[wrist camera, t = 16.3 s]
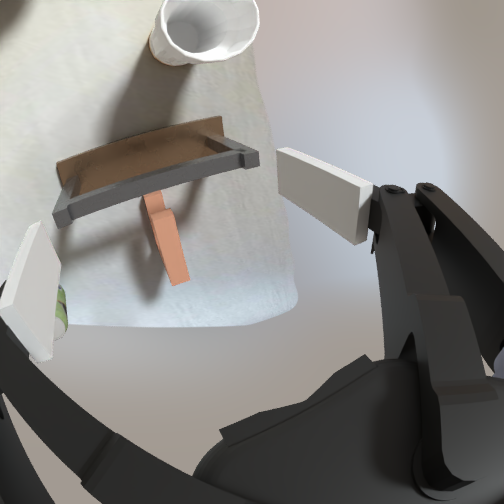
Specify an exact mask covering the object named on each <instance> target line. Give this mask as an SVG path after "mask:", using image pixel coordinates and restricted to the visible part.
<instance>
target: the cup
mask: <svg viewBox="0 0 504 504" xmlns="http://www.w3.org/2000/svg"><path fill="white" fill-rule="evenodd" d="M258 28H259V9H258V7H257V5H256V3H255V1H254V0H164V1H163V3H162V5H161V7H160V9H159V11H158V14H157V16H156V18H155V27H154V28H153V30H152V32H151V34H150V37H149V47H150V50H151V53H152V54H153V56H154V58H156V59H157V60H158V61H160V62H161V63H163V64H166V65H170V66H180V65H185V64H187V63H191V64H203V63H213V62H220V61H225V60H227V59H229V58H232V57H234V56H237V55H239V54H241V53H242V52H243V51H244V50H245V49H246V48H247V47H248V46H249V45H250V44H251V43H252V42H253V41H254V38H255V36H256V33H257V30H258Z"/></svg>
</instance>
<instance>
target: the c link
mask: <svg viewBox="0 0 504 504" xmlns="http://www.w3.org/2000/svg"><path fill="white" fill-rule="evenodd" d="M143 197H144V201H145V204H146V208H147V212H148V216H149V219H150V223H151V226H152V230H153V233H154V237H155V240H156V244H157V247H158V250H159V253H160V256H161V258H162V261H163V264H164V266H165V269H166V271H167V274H168V277H169V279H170V282H171V284H172V286H175V285H177V284H180V283H183V282H186V281H189V280H190V277H189V273H188V270H187V266H186V262H185V258H184V254H183V250H182V246H181V242H180V238H179V234H178V230H177V226H176V222H175V218H174V214H173V212H172V211H171V209H170V208H169V209H165V205H164V201H163V196H162V192H161V191H160V190H159V191H155V192H152V193H149V194H146V195H143Z"/></svg>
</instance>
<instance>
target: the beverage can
mask: <svg viewBox="0 0 504 504" xmlns="http://www.w3.org/2000/svg"><path fill="white" fill-rule="evenodd" d="M67 327H68V320H67V310H66V298H65V292H64V289H63V288H62V287H61V286H60V285H58V293H57V301H56V311H55V322H54V337H53V340H57V339H60V338H61V337H62V336H63V335H64V333H65V332H66V330H67Z"/></svg>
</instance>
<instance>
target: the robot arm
mask: <svg viewBox="0 0 504 504" xmlns="http://www.w3.org/2000/svg"><path fill="white" fill-rule="evenodd" d="M276 156H277V173H278V191H279V194H280V195H282V196H283V197H285V198H287V199H288V200H290V201H291V202H293V203H294V204H296V205H297V206H299V207H300V208H302V209H303V210H305V211H306V212H307V213H309V214H310V215H312V216H313V217H315V218H316V219H318V220H319V221H321V222H322V223H323V224H325V225H326V226H328V227H329V228H331V229H332V230H333V231H335V232H336V233H338V234H339V235H341V236H342V237H343V238H345V239H346V240H348V241H349V242H350V243H352V244H353V245H357V244H359V243H362V242H364V241H366V240H367V234H368V228H369V229H371V230H372V231H374V236H373V243H372V249H371V254H373V252H374V251H375V255H376V263H377V270H378V278H379V287H380V297H381V307H382V317H383V318H382V319H383V331H384V348H385V358H384V360H379V361H374V362H372V361H371V360H370V359H369V358H368V357H367V356H366V355H365V354H364V355H363V356H361V357H360V358H358V359H356V360H355V361H353V362H352V363H350V364H348V365H347V366H345V367H343V368H342V369H340V370H338V371H337V372H335V373H334V374H333V375H332V376H331V377H330V378H329V379H328V380H327V381H326V382H325V383H324V384H323V385H322V386H321V387H320V388H319V389H318V390H317V391H316V392H315V393H314V394H312V395H311V396H310V397H309V398H308V399H307V400H305V401H303V402H300V403H297V404H293V405H289V406H285V407H281V408H277V409H272V410H268V411H263V412H259V413H257V414H254V415H252V416H250V417H248V418H245V419H243V420H241V421H238V422H236V423H234V424H231V425H229V426H227V427H224V428H222V429H219V431H220V433H221V435H222V437H223V440H221V441H220V442H219V443H217V444H216V445H215V446H214V447H213V448H212V449H210V450H209V451H208V452H207V453H206V455H205V456H204V457H203V458H202V459H201V461H200V462H199V464H198V466H197V467H196V469H195V471H194V473H193V476H190V475H188V474H186V473H184V472H182V471H180V470H178V469H176V468H174V467H173V466H171V465H169V464H167V463H165V462H164V461H162V460H160V459H158V458H157V457H155V456H153V455H151V454H150V453H148V452H146V451H145V450H143V449H141V448H140V447H138V446H137V445H135V444H133V443H132V442H130V441H129V440H127V439H126V438H124V437H123V436H121V435H120V434H118V433H115V432H113V431H112V430H110V429H109V428H108V427H106V426H105V425H104V424H102V423H101V422H99V421H98V420H97V419H95V418H94V417H93V416H92V415H90V414H89V413H88V412H86V411H85V410H84V409H83V408H82V407H80V406H79V405H78V404H77V403H75V402H74V401H73V400H72V399H71V398H70V397H68V396H67V395H66V394H65V393H63V391H62V390H60V389H59V388H58V387H57V386H56V385H55V384H54V383H53V382H52V381H50V380H49V379H48V378H47V377H46V376H45V375H44V374H43V373H42V372H41V371H40V370H39V369H38V368H37V367H36V366H35V365H34V364H33V363H32V362H31V361H30V360H29V354H30V355H31V356H32V358H33V359H34V360H35V361H36V362H37V363H41V362H44V361H47V360H50V359H52V358H53V337H54V322H55V311H56V301H57V293H58V285H59V278H60V271H61V265H62V264H61V262H60V260H59V258H58V256H57V254H56V252H55V250H54V247H53V245H52V243H51V241H50V238H49V236H48V234H47V231H46V229H45V227H44V224H43V222H42V220H41V221H38V222H36V223H34V224H31V225H30V226H29V228H28V230H27V232H26V234H25V237H24V239H23V241H22V243H21V246H20V248H19V250H18V253H17V255H16V258H15V260H14V262H13V265H12V268H11V270H10V273H9V276H8V278H7V280H5V282H4V283H3V284H2V286H1V287H0V504H55V503H54V501H53V500H52V498H51V496H50V495H49V493H48V492H47V490H46V489H45V487H44V485H43V483H42V482H41V480H40V478H39V477H38V475H37V473H36V471H35V469H34V468H33V466H32V464H31V462H30V460H29V458H28V456H27V454H26V452H25V450H24V448H23V446H22V444H21V442H20V439H19V437H18V435H17V433H16V430H15V428H14V426H13V423H12V421H11V419H10V416H9V413H8V411H7V408H6V405H5V403H4V400H3V397H2V393H4V394H5V395H6V397H7V398H8V399H9V401H10V402H11V403H12V405H13V406H14V407H15V409H16V410H17V411H18V413H19V414H20V415H21V416H22V417H23V419H24V420H25V421H26V423H27V424H28V425H29V426H30V427H31V428H32V430H33V431H34V432H35V433H36V434H37V435H38V437H39V438H40V439H41V440H42V441H43V442H44V443H45V444H46V445H47V446H48V447H49V449H51V451H52V452H54V454H55V455H56V456H57V457H58V458H59V459H60V460H61V461H62V462H63V463H64V464H65V465H67V467H69V468H70V469H71V470H72V471H73V472H74V473H75V474H76V475H77V476H78V477H79V478H80V479H81V480H82V482H81V485H82V486H83V488H85V489H86V490H87V491H88V492H89V493H90V494H91V495H92V496H93V497H95V498H96V499H97V500H98V501H100V502H101V503H102V504H504V251H503V250H502V249H501V248H500V247H499V245H498V244H497V243H496V242H495V241H494V240H493V239H492V238H491V237H490V236H489V235H488V234H487V233H486V232H485V231H484V230H483V229H482V228H481V227H480V226H479V225H478V224H477V223H476V222H475V221H474V220H473V219H472V218H471V217H470V216H469V215H468V214H467V213H466V212H465V211H464V210H463V209H462V208H461V207H460V206H459V205H458V204H457V203H455V202H454V201H453V200H452V199H451V198H450V197H449V196H448V195H447V194H445V193H444V192H443V191H442V190H441V189H440V188H438V187H437V186H434V185H433V184H431V183H418V184H417V185H416V191H415V193H411V194H408V193H407V191H406V190H405V189H404V188H401V187H398V186H396V185H384V186H381V187H380V188H379V187H377V186H375V185H373V184H372V183H370V182H368V181H366V180H364V179H362V178H359V177H357V176H355V175H353V174H351V173H349V172H346V171H344V170H342V169H339V168H337V167H335V166H333V165H330V164H328V163H325V162H323V161H321V160H319V159H316V158H313V157H311V156H309V155H306V154H304V153H301V152H299V151H296V150H294V149H291V148H288V147H286V148H281V149H276ZM435 221H436V227H435V230H434V225H435ZM481 355H482V357H483V358H484V360H485V361H486V363H487V364H488V366H489V367H490V368H491V369H492V371H493V372H494V375H493V376H492V377H491V376H486V374H485V370H484V365H483V361H482V357H481Z"/></svg>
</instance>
